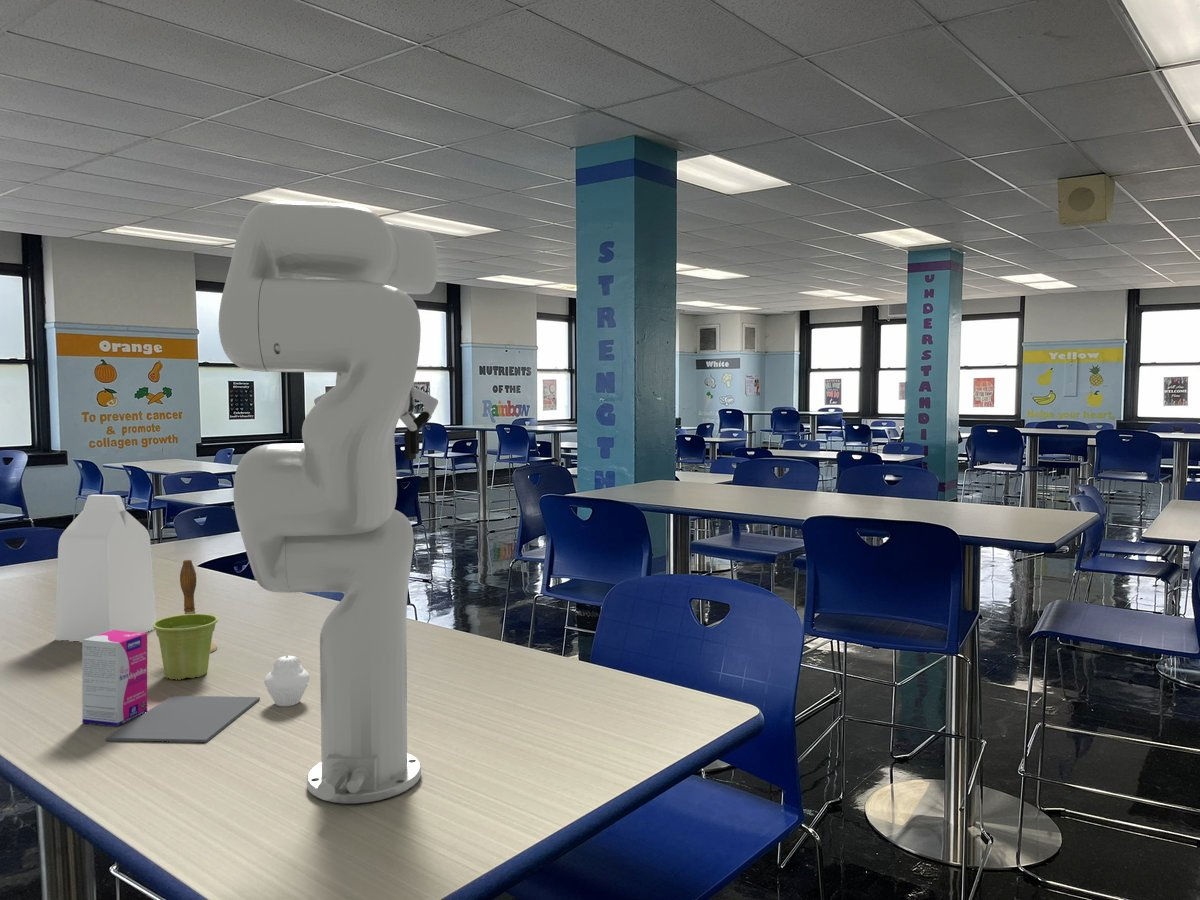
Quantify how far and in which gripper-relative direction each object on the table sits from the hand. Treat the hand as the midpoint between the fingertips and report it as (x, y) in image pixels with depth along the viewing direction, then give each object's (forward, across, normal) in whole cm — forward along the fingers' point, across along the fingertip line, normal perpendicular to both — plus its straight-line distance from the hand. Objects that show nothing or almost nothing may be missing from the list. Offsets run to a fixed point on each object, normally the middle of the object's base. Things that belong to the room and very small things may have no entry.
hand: (376, 459), depth 121 cm
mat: (+36, -24, -7) cm, 44 cm away
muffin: (+36, -14, +1) cm, 38 cm away
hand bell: (+36, -42, +25) cm, 60 cm away
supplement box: (+36, -34, -7) cm, 50 cm away
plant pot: (+36, -35, +12) cm, 52 cm away
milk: (+36, -63, +34) cm, 80 cm away
